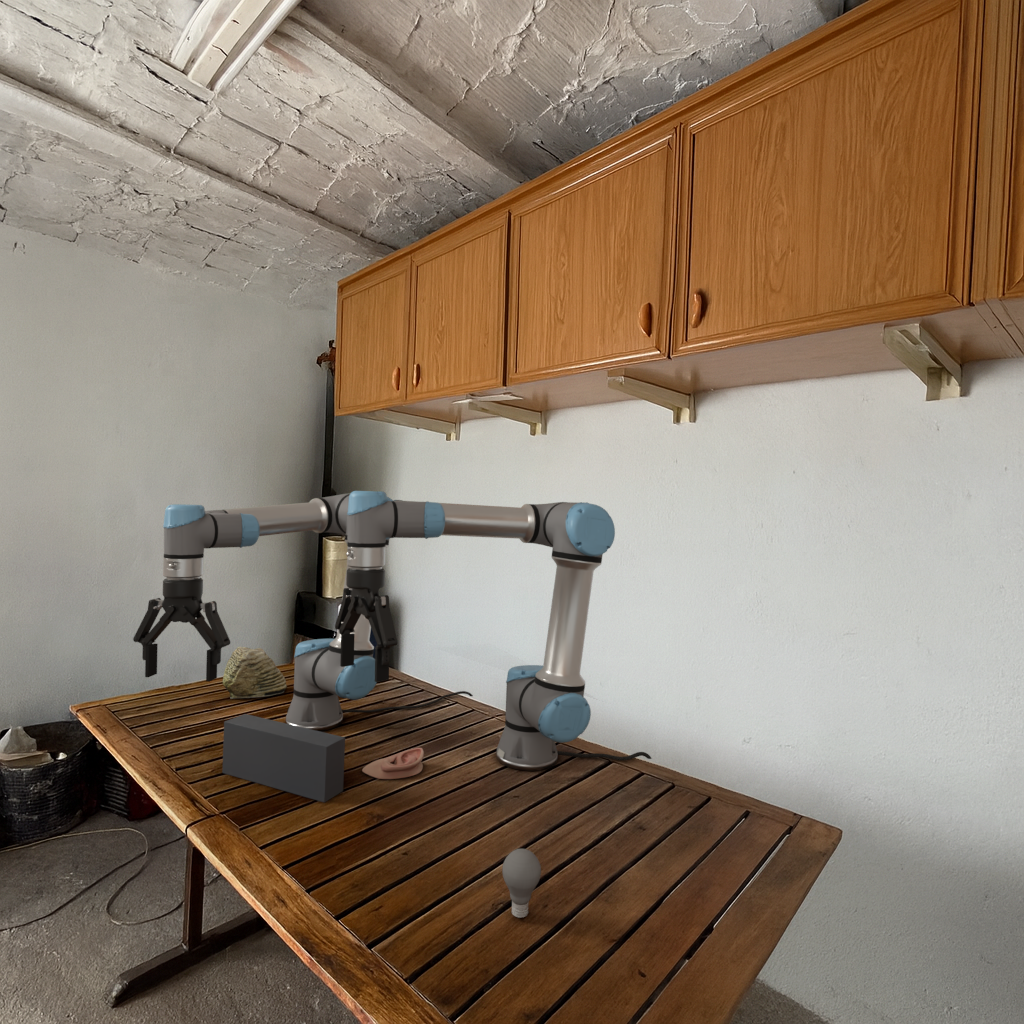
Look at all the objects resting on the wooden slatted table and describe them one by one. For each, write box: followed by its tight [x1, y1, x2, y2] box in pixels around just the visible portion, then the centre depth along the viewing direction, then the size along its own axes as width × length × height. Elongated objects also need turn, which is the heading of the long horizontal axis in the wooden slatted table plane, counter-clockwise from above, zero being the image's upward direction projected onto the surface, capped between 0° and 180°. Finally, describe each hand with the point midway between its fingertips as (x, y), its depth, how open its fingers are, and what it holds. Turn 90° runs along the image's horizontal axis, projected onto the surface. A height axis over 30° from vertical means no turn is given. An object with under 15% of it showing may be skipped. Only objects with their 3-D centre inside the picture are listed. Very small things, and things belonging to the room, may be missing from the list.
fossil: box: [222, 646, 288, 699], centre depth 198 cm, size 9×18×15 cm, turn 132°
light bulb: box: [502, 848, 542, 919], centre depth 98 cm, size 6×6×10 cm
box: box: [221, 713, 346, 803], centre depth 140 cm, size 29×6×12 cm, turn 66°
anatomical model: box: [361, 747, 425, 780], centre depth 148 cm, size 13×4×12 cm
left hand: (181, 677), depth 134 cm, fingers open, 13 cm apart
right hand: (363, 673), depth 127 cm, fingers open, 13 cm apart
